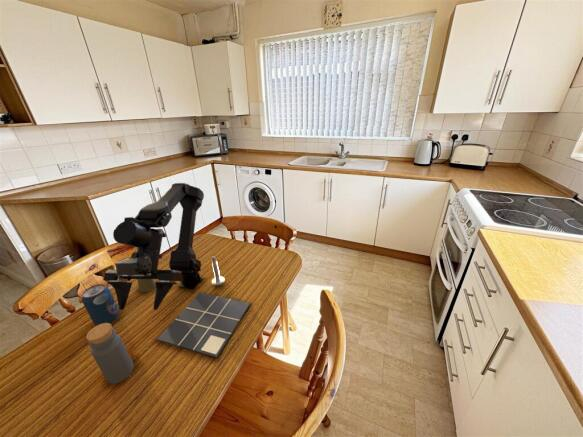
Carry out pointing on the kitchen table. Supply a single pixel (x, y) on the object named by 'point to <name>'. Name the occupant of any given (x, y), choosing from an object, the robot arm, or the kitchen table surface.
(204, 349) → the grid board
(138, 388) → the kitchen table surface
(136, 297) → the kitchen table surface
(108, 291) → the soda can
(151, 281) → the pepper shaker
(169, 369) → the kitchen table surface
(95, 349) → the bottle
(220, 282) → the screw
